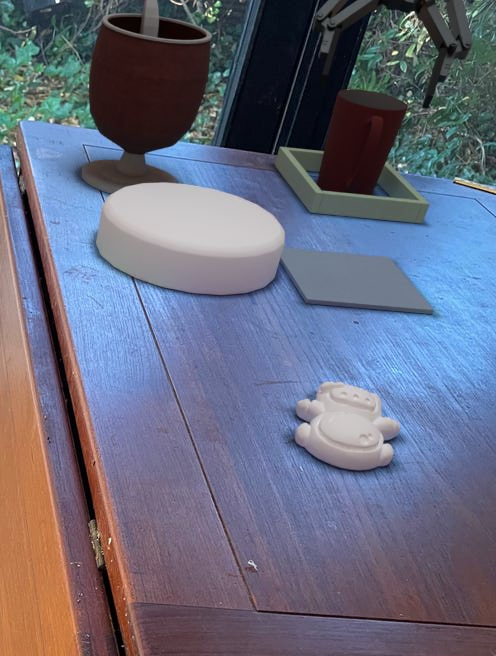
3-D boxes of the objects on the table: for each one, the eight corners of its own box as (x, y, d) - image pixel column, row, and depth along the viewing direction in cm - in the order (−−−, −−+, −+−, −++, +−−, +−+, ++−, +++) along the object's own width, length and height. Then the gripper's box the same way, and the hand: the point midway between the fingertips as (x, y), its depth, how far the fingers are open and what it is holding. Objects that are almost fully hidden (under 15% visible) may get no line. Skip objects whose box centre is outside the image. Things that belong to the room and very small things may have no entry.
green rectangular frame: (376, 176, 140) (383, 157, 138) (422, 223, 127) (430, 203, 125) (274, 165, 138) (279, 146, 136) (310, 212, 125) (316, 192, 123)
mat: (388, 261, 115) (390, 257, 115) (432, 314, 105) (434, 310, 105) (272, 250, 114) (273, 246, 113) (305, 303, 104) (307, 298, 103)
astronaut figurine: (402, 417, 87) (415, 386, 85) (384, 482, 79) (399, 449, 77) (304, 388, 89) (315, 357, 87) (277, 449, 81) (288, 416, 79)
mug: (385, 214, 128) (418, 121, 121) (316, 203, 128) (345, 109, 121) (371, 184, 137) (401, 96, 129) (308, 174, 137) (334, 85, 130)
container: (195, 214, 120) (204, 173, 117) (313, 280, 108) (327, 237, 105) (60, 231, 111) (66, 188, 108) (173, 306, 99) (184, 260, 96)
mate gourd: (193, 206, 122) (235, 18, 109) (81, 195, 120) (111, 3, 107) (170, 164, 133) (205, -11, 120) (68, 154, 132) (92, -25, 118)
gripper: (505, -22, 132) (462, 127, 132) (318, -55, 136) (276, 90, 135) (526, -66, 125) (482, 92, 124) (329, -100, 128) (284, 54, 128)
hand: (374, 92), depth 130 cm, fingers open, 13 cm apart
